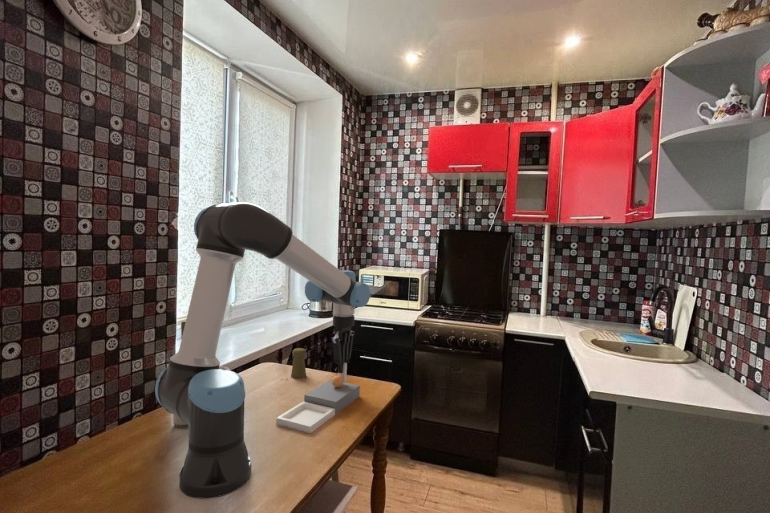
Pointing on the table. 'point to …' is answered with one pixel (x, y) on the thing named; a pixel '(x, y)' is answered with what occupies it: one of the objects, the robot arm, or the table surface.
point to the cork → (298, 363)
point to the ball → (337, 381)
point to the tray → (305, 417)
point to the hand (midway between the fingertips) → (341, 381)
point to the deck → (333, 395)
